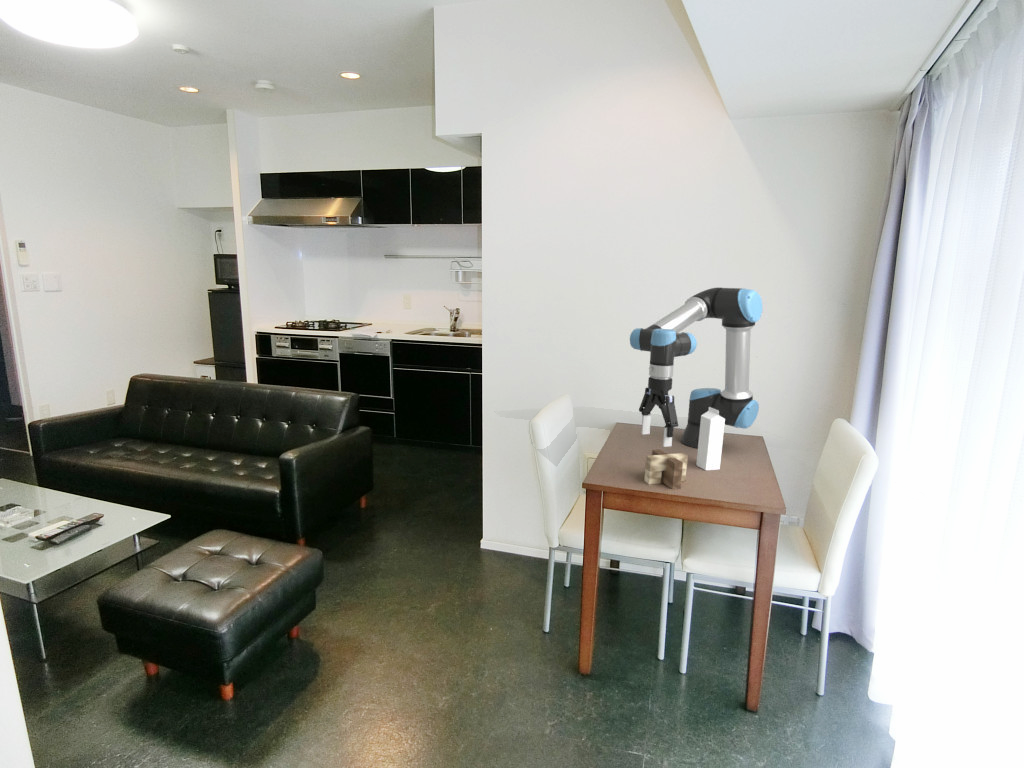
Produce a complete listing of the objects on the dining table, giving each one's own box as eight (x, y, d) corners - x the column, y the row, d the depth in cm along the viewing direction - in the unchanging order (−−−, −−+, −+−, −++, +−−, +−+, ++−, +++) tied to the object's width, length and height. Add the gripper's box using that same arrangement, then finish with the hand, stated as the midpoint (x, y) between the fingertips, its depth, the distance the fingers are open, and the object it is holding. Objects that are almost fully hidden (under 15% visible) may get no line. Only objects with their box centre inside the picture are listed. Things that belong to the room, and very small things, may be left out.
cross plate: (680, 478, 202) (682, 453, 200) (685, 481, 199) (687, 455, 197) (644, 481, 198) (646, 455, 196) (648, 484, 195) (651, 458, 193)
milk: (705, 470, 210) (711, 411, 206) (695, 465, 216) (701, 407, 211) (720, 469, 212) (726, 410, 207) (710, 463, 218) (715, 406, 213)
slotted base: (657, 473, 205) (659, 449, 204) (680, 488, 192) (682, 462, 191) (650, 474, 204) (652, 449, 203) (672, 489, 191) (674, 462, 190)
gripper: (631, 370, 200) (627, 430, 205) (671, 385, 177) (666, 452, 181) (650, 369, 202) (646, 428, 207) (693, 384, 179) (687, 450, 184)
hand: (656, 440), depth 194 cm, fingers open, 13 cm apart
